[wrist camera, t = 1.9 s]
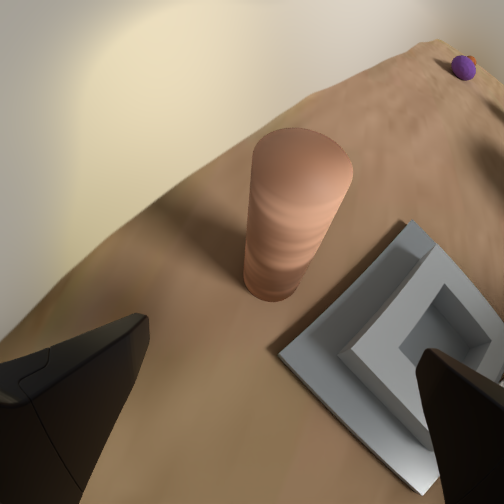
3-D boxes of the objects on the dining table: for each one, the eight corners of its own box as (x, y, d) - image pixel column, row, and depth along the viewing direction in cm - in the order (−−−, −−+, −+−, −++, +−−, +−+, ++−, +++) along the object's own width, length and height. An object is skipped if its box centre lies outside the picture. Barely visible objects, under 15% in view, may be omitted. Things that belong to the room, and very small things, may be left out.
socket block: (510, 344, 22) (536, 334, 19) (416, 493, 16) (442, 502, 13) (407, 224, 28) (426, 201, 24) (277, 355, 22) (285, 346, 18)
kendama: (484, 62, 49) (479, 70, 41) (473, 75, 55) (464, 87, 46) (468, 46, 50) (458, 51, 42) (457, 60, 55) (444, 68, 47)
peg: (310, 277, 25) (371, 171, 13) (269, 313, 23) (306, 222, 12) (273, 239, 26) (301, 117, 14) (231, 271, 24) (230, 153, 13)
